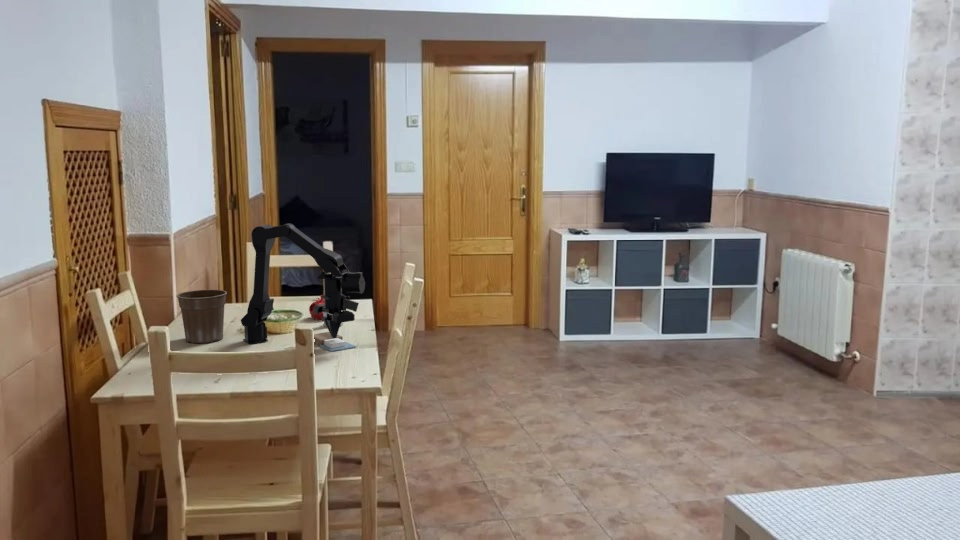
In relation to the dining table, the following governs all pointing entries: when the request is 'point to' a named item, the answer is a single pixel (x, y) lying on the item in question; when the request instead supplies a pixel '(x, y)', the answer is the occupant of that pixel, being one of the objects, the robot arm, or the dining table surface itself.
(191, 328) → the plant pot
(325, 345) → the mat
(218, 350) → the dining table surface
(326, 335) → the deck
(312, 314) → the pomegranate
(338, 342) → the white flat block
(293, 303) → the dining table surface
